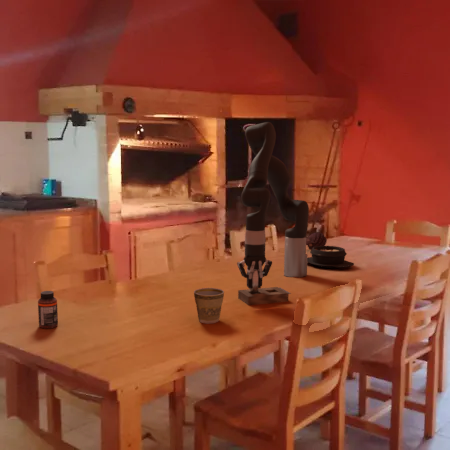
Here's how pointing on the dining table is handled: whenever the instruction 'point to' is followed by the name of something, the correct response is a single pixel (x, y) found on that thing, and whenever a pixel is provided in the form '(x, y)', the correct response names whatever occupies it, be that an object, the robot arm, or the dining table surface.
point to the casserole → (328, 257)
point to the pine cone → (316, 240)
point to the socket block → (263, 296)
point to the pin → (255, 282)
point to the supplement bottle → (47, 310)
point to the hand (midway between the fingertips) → (254, 287)
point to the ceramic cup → (208, 304)
